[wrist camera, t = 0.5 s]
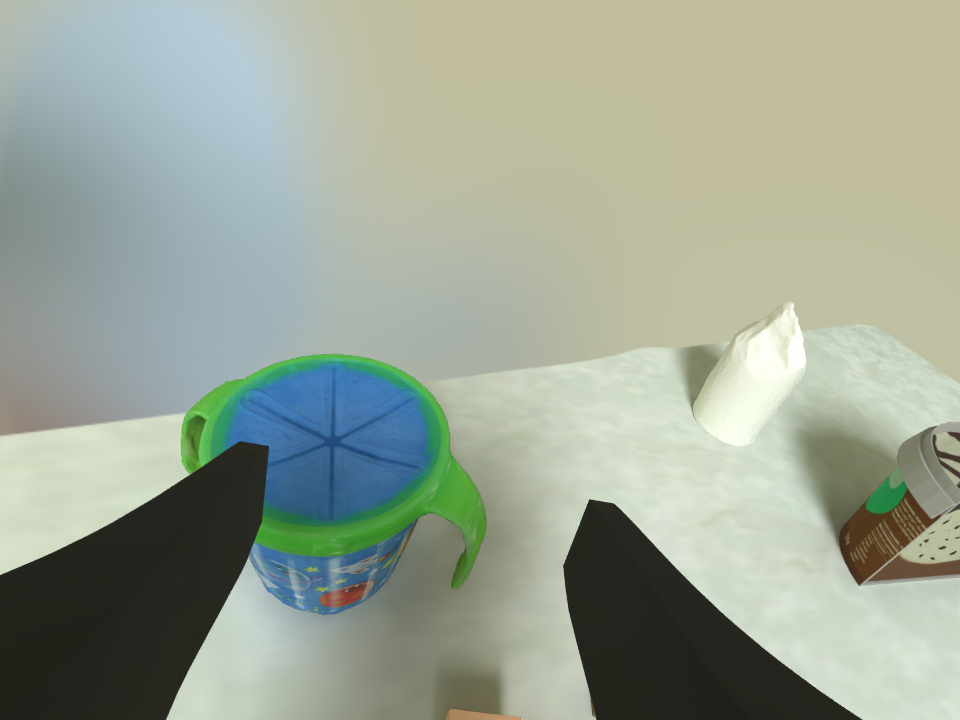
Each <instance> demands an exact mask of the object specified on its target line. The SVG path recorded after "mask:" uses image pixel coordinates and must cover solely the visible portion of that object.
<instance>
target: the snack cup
mask: <svg viewBox="0 0 960 720" xmlns="http://www.w3.org/2000/svg"><path fill="white" fill-rule="evenodd" d="M239 441H243V442H249V443H255V444H261V445H267V446H269V455H268V465H267V475H266V486H265V496H264V506H263V517H262V523H261V526H260V528H259V531H258V533H257V536H256V539H255V541H254V544H253V546H252V549H251V551H250V554H249V559H250V561H251V563H252V565H253V566H254V568H255V570H256V572H257V573H258V575H259V577H260V579H261V580H262V583H263V585H264V586H265V588H266V589H267V591H268V592H270V593H272V594H273V595H274V596H275V597H277V598H278V599H279V600H280V601H282V602H283V603H284V604H286V605H288V606H291V607H293V608H295V609H299V610H304V611H308V612H317V613H320V614H322V615H326V614H335V613H339V612H341V611H343V610H345V609H347V608H350V607H353V606H355V605H357V604H359V603H361V602H363V601H364V600H366V599H367V598H368V597H370V596H371V595H373V594H374V593H375V592H376V591H377V590H378V589H379V588H380V587H381V586H382V585H383V584H384V583H385V582H386V581H387V580H388V578H389V577H390V575H391V573H392V572H393V570H394V568H395V566H396V564H397V562H398V560H399V558H400V556H401V554H402V552H403V550H404V549H405V546H406V544H407V542H408V540H409V538H410V536H411V534H412V531H413V529H414V527H415V525H416V522H417V520H418V518H419V517H420V516H422V515H426V514H428V513H434V514H437V515H439V516H442V517H444V518H446V519H447V520H449V521H451V522H452V523H453V524H455V525H457V526H458V527H460V528H461V529H462V532H463V538H464V542H465V546H466V547H465V550H464V552H463V553H462V554H461V556H460V558H459V560H458V563H457V566H456V569H455V572H454V575H453V579H452V584H451V585H452V588H453V589H458V588H459V587H460V586H461V585H462V584H463V583H464V581H465V580H466V579H467V577H468V575H469V573H470V571H471V569H472V566H473V564H474V562H475V559H476V556H477V554H478V552H479V548H480V545H481V543H482V541H483V538H484V535H485V531H486V514H485V510H484V505H483V503H482V499H481V497H480V494H479V492H478V490H477V488H476V486H475V484H474V483H473V482H472V480H471V479H470V477H469V475H468V474H467V473H466V472H465V471H464V470H463V469H462V467H461V466H460V465H459V464H458V463H457V462H456V460H455V459H454V458H453V456H452V454H451V451H450V434H449V428H448V423H447V420H446V417H445V415H444V413H443V411H442V409H441V407H440V405H439V404H438V402H437V401H436V399H435V398H434V397H433V396H432V394H431V393H430V392H429V391H428V390H427V389H426V388H425V387H424V386H423V385H421V384H420V383H419V382H418V381H417V380H416V379H414V378H413V377H411V376H410V375H408V374H406V373H405V372H403V371H401V370H399V369H397V368H395V367H393V366H391V365H388V364H385V363H382V362H379V361H376V360H373V359H369V358H364V357H358V356H351V355H342V354H323V355H311V356H303V357H298V358H294V359H290V360H286V361H283V362H279V363H275V364H273V365H270V366H268V367H265V368H264V369H261V370H259V371H257V372H255V373H253V374H252V375H250V376H248V377H246V378H245V379H239V380H233V381H226V382H225V383H224V384H222V385H221V386H219V387H217V388H215V389H214V390H212V391H211V392H210V393H208V394H207V395H206V396H205V397H203V398H202V399H201V400H200V401H199V402H197V403H196V404H195V405H194V406H193V407H192V408H191V409H190V410H189V412H188V413H187V414H186V415H185V417H184V421H183V425H182V438H181V456H182V463H183V465H184V467H185V469H186V471H187V472H188V473H190V474H192V473H193V472H195V471H196V470H198V469H199V468H201V467H202V466H204V465H205V464H206V463H208V462H209V461H211V460H212V459H214V458H215V457H217V456H218V455H219V454H221V453H222V452H224V451H225V450H227V449H228V448H230V447H231V446H233V445H234V444H236V443H237V442H239Z"/></svg>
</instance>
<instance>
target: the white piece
mask: <svg viewBox="0 0 960 720" xmlns="http://www.w3.org/2000/svg"><path fill="white" fill-rule="evenodd" d="M793 308H794V303H793V302H790V301H789V302H783V303H782V304H781V305H780V306H779V307H777V308H776V309H775V310H774V311H773V312H772V313H771V314H770V315H769V316H768V317H766V318H764V319H762V320H761V321H757V322H754V323H752V324H750V325H748V326H746V327H745V328H743V329H742V330H741V331H739V333H737V334H736V335H735V337H734V338H733V339H732V341H731V343H730V344H729V346H728V347H727V349H726V350H725V352H724V353H723V355H722V357H721V358H720V360H719V361H718V363H717V364H716V365H715V367H714V368H713V370H712V371H711V372H710V374H709V376H708V378H707V380H706V381H705V383H704V385H703V388H702V390H701V392H700V394H699V395H698V397H697V399H696V400H695V402H694V404H693V415H694V417H695V419H696V421H697V422H698V423H699V425H700V426H701V427H702V428H703V429H704V430H705V431H707V432H708V433H709V434H710V435H712V436H713V437H715V438H717V439H718V440H720V441H722V442H725V443H727V444H730V445H734V446H748V445H750V444H752V443H753V441H754V440H755V438H756V437H757V436H758V434H759V433H760V432H761V430H762V429H763V427H764V426H765V425H766V423H767V422H768V421H769V420H770V418H771V417H772V416H773V415H774V413H775V412H776V411H777V409H778V408H779V407H780V406H781V404H782V403H783V402H784V400H785V399H786V398H787V397H788V396H789V394H790V393H791V391H792V390H793V389H794V387H795V386H796V385H797V383H798V382H799V381H800V379H801V378H802V377H803V375H804V374H805V365H806V355H805V349H804V347H803V341H804V338H803V336H802V331H801V329H800V327H799V325H798V317H796V316H795V313H794V311H793Z"/></svg>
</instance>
